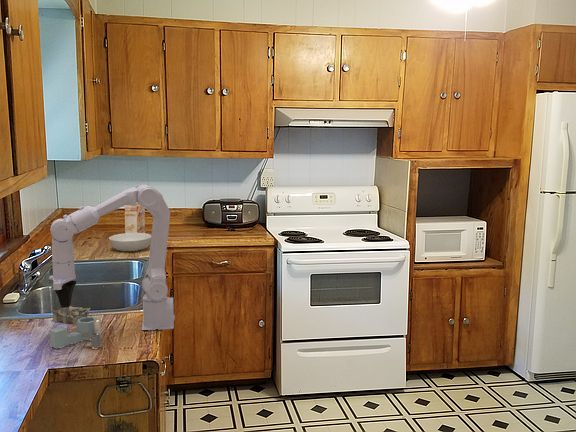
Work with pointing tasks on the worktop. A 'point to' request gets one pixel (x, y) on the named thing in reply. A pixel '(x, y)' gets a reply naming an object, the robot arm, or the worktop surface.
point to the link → (62, 338)
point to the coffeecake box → (134, 219)
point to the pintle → (97, 326)
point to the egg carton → (70, 314)
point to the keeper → (92, 338)
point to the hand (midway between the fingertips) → (65, 307)
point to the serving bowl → (130, 241)
